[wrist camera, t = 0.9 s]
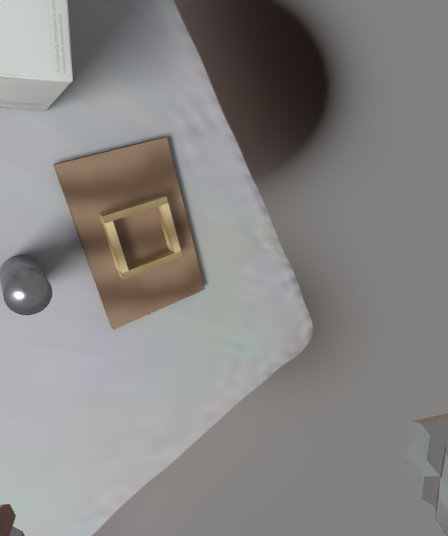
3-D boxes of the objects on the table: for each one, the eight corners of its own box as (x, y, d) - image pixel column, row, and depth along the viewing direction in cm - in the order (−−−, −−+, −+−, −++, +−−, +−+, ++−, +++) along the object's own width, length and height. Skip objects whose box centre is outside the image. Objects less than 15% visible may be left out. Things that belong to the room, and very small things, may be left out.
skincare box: (46, 112, 42) (78, 89, 29) (-30, 106, 38) (-32, 77, 25) (39, 21, 40) (69, -48, 27) (-42, 6, 36) (-51, -81, 23)
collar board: (53, 164, 43) (58, 164, 41) (163, 137, 48) (173, 136, 46) (111, 326, 50) (118, 335, 48) (201, 287, 56) (212, 293, 53)
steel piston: (-8, 263, 42) (-4, 282, 35) (32, 250, 44) (43, 266, 37) (8, 297, 44) (14, 321, 37) (46, 283, 45) (58, 304, 39)
